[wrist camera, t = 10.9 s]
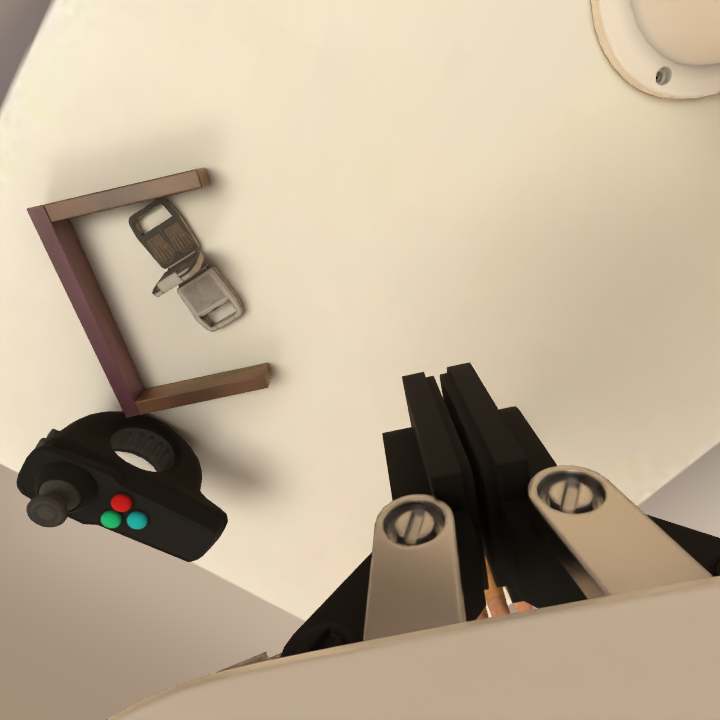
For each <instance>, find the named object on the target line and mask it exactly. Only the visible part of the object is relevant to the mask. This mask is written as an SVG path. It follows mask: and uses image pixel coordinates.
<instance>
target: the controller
mask: <svg viewBox="0 0 720 720" xmlns="http://www.w3.org/2000/svg"><path fill="white" fill-rule="evenodd" d="M114 451H121V452H127V453H132V454H134V455H137V456H139V457H141V458H143V459H145V460H146V461H147V462H149V463H150V464H151V465H152V466H153V467H154V468H155V470H156V471H157V472H151V471H146V470H143V469H140V468H138V467H136V466H134V465H132V464H130V463H128V462H126V461H124V460H123V459H122V458H120V457H119V456H118V455H117V454H116V453H115V452H114ZM201 482H202V471H201V467H200V463H199V460H198V458H197V456H196V455H195V453H194V451H193V450H192V448H191V447H190V446H189V445H188V443H187V442H186V441H185V440H184V439H183V438H182V437H181V436H180V435H178V434H177V433H176V432H174V431H173V430H172V429H171V428H169V427H167V426H166V425H164V424H162V423H160V422H158V421H157V420H154V419H151V418H148V417H146V416H142V415H136V416H132V417H126V416H125V414H124V412H100V413H95V414H91V415H88V416H86V417H83V418H81V419H79V420H77V421H75V422H73V423H71V424H70V425H68V426H67V427H65V428H64V429H62V430H61V431H57V430H55V429H52V430H51V431H50V432H49V434H48V436H47V438H42V439H41V440H40V441H39V443H38V444H37V446H36V448H35V449H34V450H33V451H32V452H31V453H30V454H29V456H28V457H27V458H26V460H25V462H24V464H23V466H22V468H21V470H20V472H19V474H18V478H17V487H18V489H19V490H20V492H21V493H22V494H23V495H25V496H27V497H28V498H30V499H31V501H30V502H29V503H28V505H27V514H28V516H29V518H30V519H31V520H32V521H33V522H35V523H36V524H38V525H40V526H43V527H56V526H59V525H61V524H62V523H63V522H64V521H65V520H66V518H67V517H69V518H72V519H74V520H76V521H78V522H80V523H82V524H92V525H93V524H94V525H99V526H102V527H104V528H106V529H109V530H111V531H114V532H116V533H119V534H121V535H123V536H126V537H129V538H131V539H133V540H136V541H138V542H141V543H143V544H145V545H148V546H150V547H153V548H155V549H158V550H160V551H163V552H165V553H167V554H170V555H172V556H175V557H177V558H180V559H182V560H185V561H187V562H191V561H195V560H197V559H199V558H201V557H202V556H203V555H204V554H205V553H206V552H207V551H208V550H209V549H210V548H211V547H212V546H213V545H214V543H215V542H216V541H217V540H218V539H219V537H220V536H221V534H222V532H223V531H224V529H225V527H226V525H227V522H228V518H227V514H226V513H225V512H224V511H223V510H222V509H220V508H219V507H218V506H216V505H215V504H214V503H212V502H211V501H210V500H208V499H207V498H206V497H205V496H204V495H203V494H202V493H201V491H200V489H201Z"/></svg>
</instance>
